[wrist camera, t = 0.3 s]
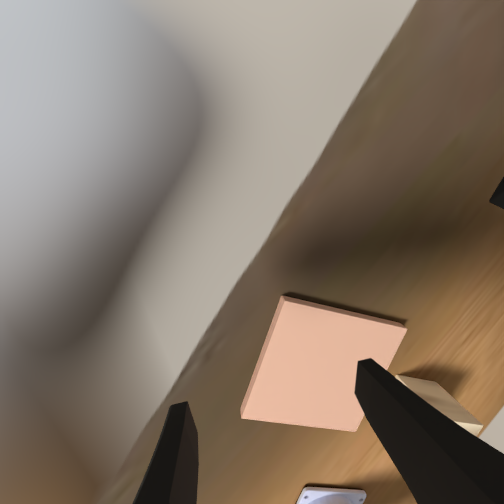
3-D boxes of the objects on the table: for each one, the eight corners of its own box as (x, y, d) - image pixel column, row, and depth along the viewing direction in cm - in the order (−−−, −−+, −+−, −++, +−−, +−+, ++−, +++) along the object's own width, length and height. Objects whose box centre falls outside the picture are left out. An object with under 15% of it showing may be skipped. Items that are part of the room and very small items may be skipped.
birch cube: (414, 418, 28) (455, 468, 23) (375, 413, 27) (410, 463, 22) (435, 381, 26) (483, 425, 22) (396, 374, 25) (437, 419, 21)
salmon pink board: (350, 422, 26) (355, 431, 25) (240, 408, 24) (241, 418, 23) (399, 322, 24) (407, 328, 23) (281, 295, 21) (284, 300, 20)
